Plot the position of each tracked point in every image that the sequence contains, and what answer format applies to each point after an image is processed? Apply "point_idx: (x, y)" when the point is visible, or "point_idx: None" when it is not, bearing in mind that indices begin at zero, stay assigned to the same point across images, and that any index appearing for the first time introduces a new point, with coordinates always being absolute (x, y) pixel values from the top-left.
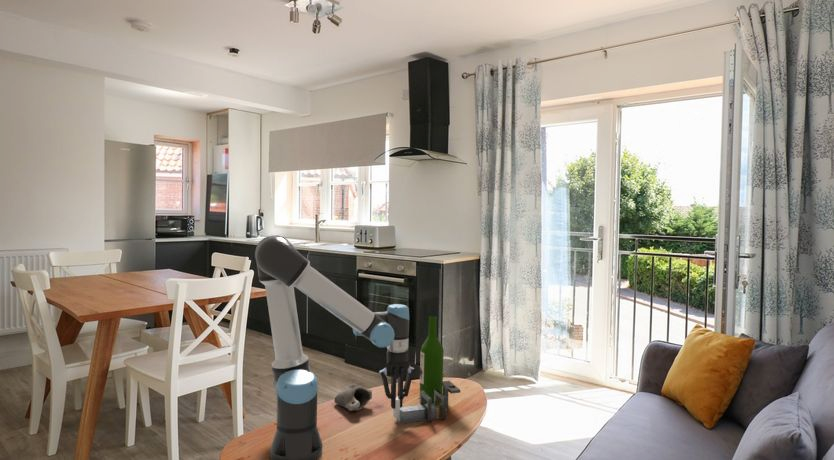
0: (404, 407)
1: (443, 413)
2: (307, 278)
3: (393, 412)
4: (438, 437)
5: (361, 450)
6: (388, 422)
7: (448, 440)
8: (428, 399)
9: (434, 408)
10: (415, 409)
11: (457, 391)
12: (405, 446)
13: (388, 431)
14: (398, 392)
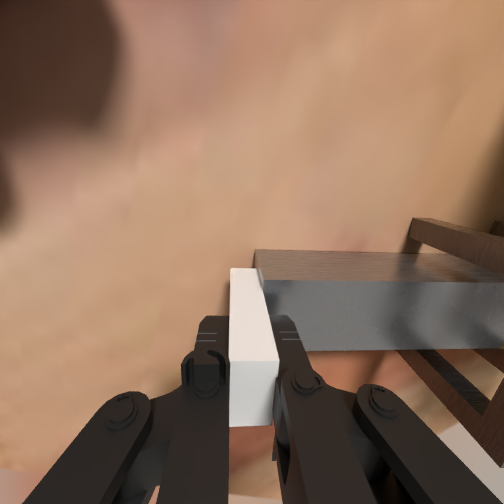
0: (318, 292)
1: (487, 356)
2: None
3: (230, 280)
4: None
5: (30, 462)
6: (195, 277)
7: None
8: (498, 464)
9: (482, 346)
10: (369, 341)
11: None
12: None
13: (169, 362)
14: (295, 439)
